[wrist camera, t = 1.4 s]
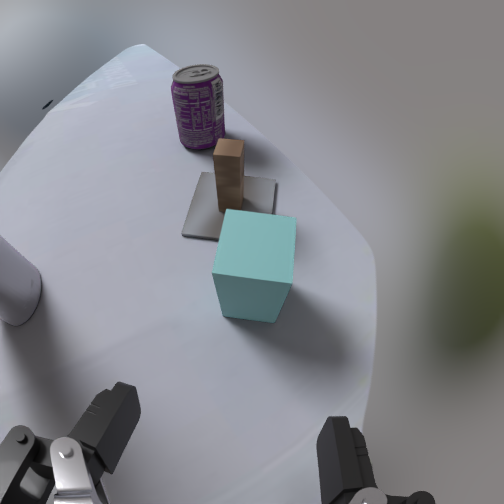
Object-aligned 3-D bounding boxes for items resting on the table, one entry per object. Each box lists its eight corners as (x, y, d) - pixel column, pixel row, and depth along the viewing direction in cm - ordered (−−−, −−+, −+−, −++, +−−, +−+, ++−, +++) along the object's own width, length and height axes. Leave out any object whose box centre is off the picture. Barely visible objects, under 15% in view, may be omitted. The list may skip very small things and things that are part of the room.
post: (182, 235, 31) (163, 179, 23) (202, 174, 36) (194, 117, 28) (268, 246, 31) (276, 190, 23) (275, 182, 36) (283, 124, 27)
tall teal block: (222, 316, 27) (211, 272, 18) (231, 269, 29) (226, 208, 20) (274, 323, 27) (292, 283, 17) (279, 276, 29) (296, 217, 20)
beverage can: (217, 122, 42) (213, 60, 32) (231, 145, 39) (230, 76, 29) (176, 133, 41) (165, 70, 30) (186, 158, 38) (174, 88, 27)
